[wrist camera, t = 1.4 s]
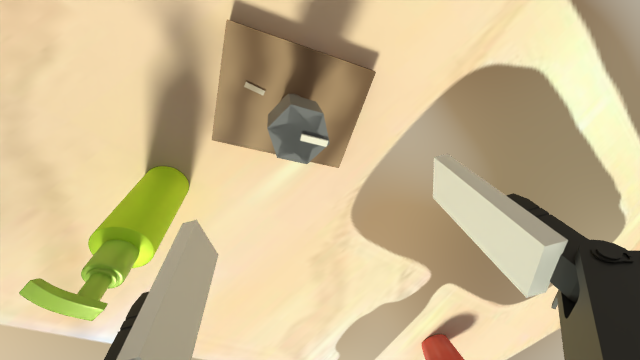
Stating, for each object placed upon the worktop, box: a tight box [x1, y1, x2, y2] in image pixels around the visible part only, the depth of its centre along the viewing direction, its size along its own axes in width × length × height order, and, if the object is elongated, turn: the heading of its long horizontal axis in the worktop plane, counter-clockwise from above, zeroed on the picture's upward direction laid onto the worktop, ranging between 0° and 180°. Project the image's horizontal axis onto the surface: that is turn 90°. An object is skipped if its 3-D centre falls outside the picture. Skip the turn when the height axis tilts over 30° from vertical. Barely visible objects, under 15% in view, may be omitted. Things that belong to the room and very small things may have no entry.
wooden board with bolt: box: [212, 20, 376, 168], centre depth 31 cm, size 18×14×8 cm
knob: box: [267, 94, 330, 164], centre depth 25 cm, size 6×5×5 cm
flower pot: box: [422, 334, 464, 360], centre depth 71 cm, size 11×11×10 cm
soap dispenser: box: [19, 166, 189, 321], centre depth 29 cm, size 6×7×20 cm
